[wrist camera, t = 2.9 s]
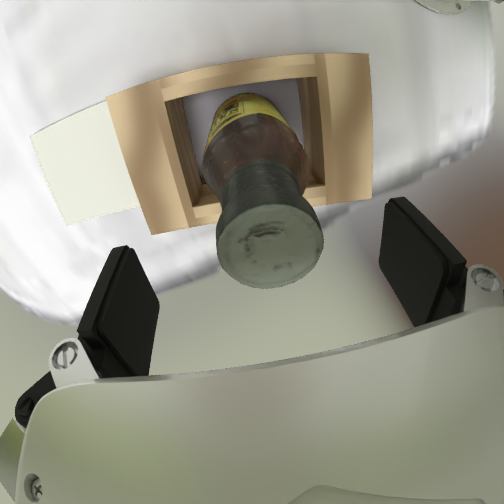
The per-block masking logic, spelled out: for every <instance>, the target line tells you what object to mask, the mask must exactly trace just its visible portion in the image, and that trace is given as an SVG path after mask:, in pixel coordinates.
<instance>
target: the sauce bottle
mask: <svg viewBox="0 0 504 504" xmlns="http://www.w3.org/2000/svg"><path fill="white" fill-rule="evenodd" d="M202 169H203V175H204V178H205V181H206V183H207V185H208V186H209V187H210V189H211V190H212V191H213V192H214V194H215V195H216V197H217V198H218V200H219V201H220V205H221V208H222V213H221V215H220V217H219V220H218V223H217V226H216V247H217V255H218V259H219V261H220V263H221V266H222V268H223V269H224V270H225V271H226V272H227V273H228V274H229V275H230V276H231V277H232V278H234V279H235V280H237V281H238V282H240V283H241V284H244V285H248V286H250V287H254V288H262V289H264V288H265V289H268V288H276V287H282V286H285V285H288V284H291V283H294V282H296V281H297V280H299V279H301V278H303V277H304V276H305V275H306V274H308V273H309V272H310V271H311V270H312V269H313V268H314V266H315V265H316V263H317V261H318V259H319V257H320V255H321V252H322V250H323V243H324V239H323V233H322V229H321V226H320V223H319V220H318V219H317V216H316V214H315V211H314V209H313V208H312V206H311V204H310V203H309V202H308V201H307V200H306V199H305V198H304V197H303V196H302V195H303V194H304V192H305V189H306V187H307V183H308V172H309V171H308V162H307V158H306V154H305V152H304V150H303V147H302V145H301V144H300V143H299V140H298V138H297V136H296V134H295V133H294V131H293V130H292V129H291V128H290V126H289V125H288V123H287V122H286V121H285V119H284V118H283V117H282V115H281V114H280V113H279V111H278V110H277V109H276V108H275V106H274V105H273V104H272V103H271V102H270V101H268V100H267V99H265V98H263V97H261V96H258V95H256V94H250V93H246V94H240V95H236V96H232V97H231V98H229V99H228V100H226V101H225V102H224V103H223V104H222V105H221V106H220V107H219V108H218V110H217V111H216V113H215V116H214V119H213V123H212V126H211V129H210V133H209V136H208V140H207V145H206V148H205V153H204V157H203V163H202Z"/></svg>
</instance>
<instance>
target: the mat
mask: <svg viewBox="0 0 504 504" xmlns="http://www.w3.org/2000/svg"><path fill="white" fill-rule="evenodd" d="M30 139H31V142H32V145H33V148H34V150H35V153H36V156H37V159H38V161H39V164H40V167H41V169H42V172H43V174H44V177H45V179H46V182H47V184H48V187H49V189H50V191H51V194H52V196H53V198H54V200H55V203H56V205H57V207H58V209H59V211H60V214H61V216H62V218H63V220H64V222H65V224H66V226H68V225H72V224H75V223H79V222H82V221H86V220H90V219H93V218H97V217H101V216H104V215H108V214H112V213H116V212H120V211H124V210H128V209H132V208H136V207H140V203H139V201H138V198H137V195H136V192H135V190H134V187H133V184H132V181H131V178H130V175H129V172H128V169H127V166H126V163H125V160H124V157H123V154H122V151H121V148H120V145H119V142H118V138H117V135H116V132H115V129H114V125H113V122H112V118H111V115H110V111H109V108H108V104H107V101H104V102H102V103H99V104H97V105H94V106H92V107H89V108H87V109H85V110H82V111H80V112H78V113H76V114H73V115H71V116H69V117H67V118H65V119H63V120H61V121H59V122H57V123H55V124H53V125H51V126H49V127H47V128H45V129H43V130H41V131H39V132H37V133H35V134H34V135H32V136H30Z"/></svg>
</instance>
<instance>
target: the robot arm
mask: <svg viewBox="0 0 504 504" xmlns="http://www.w3.org/2000/svg"><path fill="white" fill-rule="evenodd" d="M416 1H417V2H418V3H420V4H421V5H423V6H425V7H426V8H428V9H430V10H433V11H435V12H438V13H443V14H456V13H461V12H463V11H464V10H466V9H467V7H468V6H469V5H470V3H471V1H494V2H496V3H501V2H502V1H504V0H416ZM466 262H467V261H466V259H465V258H464V257H463V256H462V255H461V254H460V253H459V252H458V250H457V249H456V248H455V247H454V246H453V245H452V244H451V243H450V242H449V241H448V239H447V238H446V237H445V236H444V235H443V234H442V233H441V232H440V231H439V230H438V229H437V228H436V227H435V226H434V225H433V224H432V223H431V222H430V221H429V220H428V219H427V218H426V217H425V216H424V215H423V214H422V213H421V212H420V211H419V210H418V209H417V208H416V207H415V206H414V205H413V204H412V203H411V202H409V201H408V200H407V199H406V198H405V197H398V198H391V199H390V200H389V201H388V203H386V204H385V210H384V221H383V230H382V240H381V247H380V256H379V266H380V269H381V271H382V272H383V274H384V275H385V277H386V279H387V280H388V282H389V283H390V285H391V287H392V289H393V290H394V292H395V294H396V295H397V297H398V299H399V301H400V302H401V304H402V306H403V307H404V309H405V311H406V313H407V315H408V317H409V318H410V320H411V322H412V324H413V325H414V328H411V329H408V330H404V331H401V332H398V333H394V334H391V335H387V336H384V337H380V338H377V339H373V340H369V341H365V342H362V343H358V344H354V345H350V346H345V347H341V348H337V349H333V350H328V351H324V352H320V353H315V354H310V355H305V356H300V357H295V358H290V359H284V360H279V361H273V362H267V363H261V364H254V365H247V366H240V367H233V368H226V369H218V370H210V371H200V372H190V373H179V374H166V375H152V376H149V368H150V362H151V354H152V349H153V342H154V337H155V331H156V325H157V319H158V314H159V301H158V298H157V296H156V294H155V292H154V290H153V288H152V286H151V284H150V282H149V280H148V278H147V276H146V274H145V272H144V270H143V268H142V265H141V263H140V261H139V259H138V257H137V255H136V252H135V250H134V249H133V248H129V247H128V246H127V245H125V246H120V247H116V248H113V249H112V250H111V252H110V254H109V256H108V258H107V261H106V263H105V265H104V267H103V269H102V271H101V273H100V276H99V278H98V280H97V282H96V285H95V287H94V289H93V292H92V294H91V296H90V299H89V301H88V303H87V306H86V308H85V311H84V313H83V316H82V319H81V321H80V324H79V326H78V329H77V332H78V333H79V336H78V339H76V338H68V339H64V340H63V341H61V342H59V343H58V344H57V345H56V346H55V347H54V349H53V350H52V351H51V354H50V356H49V368H50V371H49V372H48V373H47V374H46V375H44V376H43V377H42V378H41V379H40V380H39V381H37V382H36V383H35V384H34V385H33V386H32V387H31V388H30V389H28V390H27V391H26V392H25V393H24V394H23V395H22V396H21V397H20V398H19V399H18V401H17V404H16V407H15V417H16V421H15V420H14V419H12V420H11V421H10V423H9V424H8V426H7V427H6V429H5V430H4V432H3V433H2V435H1V437H0V482H1V483H2V485H3V486H4V488H5V489H6V490H7V492H8V493H9V495H10V496H11V498H12V499H13V500H14V502H15V504H504V289H503V283H502V279H501V278H500V276H499V275H498V274H497V273H496V272H495V271H494V270H493V269H491V268H490V267H487V266H484V265H474V266H471V267H470V268H469V269H467V268H466V266H465V265H466Z"/></svg>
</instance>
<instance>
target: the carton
mask: <svg viewBox="0 0 504 504" xmlns="http://www.w3.org/2000/svg"><path fill="white" fill-rule="evenodd" d="M290 78H297V82H298V90H299V98H300V107H301V115H302V125H303V134H304V145H305V154H306V158H307V162H308V171H309V172H308V183H307V187H306V189H305V192H304V194H303V195H302V196H303V197H304V198H305V199H306V200H307V201H308V202H309V203H310V204H311V206H312V207H314V206H321V205H327V204H334V203H341V202H348V201H356V200H363V199H370V198H371V197H372V173H373V116H372V93H371V78H370V66H369V55H368V54H361V53H317V54H297V55H284V56H274V57H265V58H257V59H249V60H243V61H236V62H230V63H225V64H219V65H214V66H209V67H205V68H200V69H196V70H191V71H187V72H183V73H179V74H175V75H171V76H168V77H164V78H161V79H157V80H154V81H151V82H147V83H144V84H141V85H138V86H135V87H132V88H129V89H126V90H123V91H121V92H118V93H115V94H113V95H110V96H107V97H106V100H107V104H108V108H109V111H110V115H111V118H112V122H113V125H114V129H115V132H116V135H117V138H118V142H119V145H120V148H121V151H122V154H123V157H124V160H125V163H126V166H127V169H128V172H129V175H130V178H131V181H132V184H133V187H134V190H135V192H136V195H137V198H138V201H139V203H140V206H141V209H142V211H143V214H144V217H145V219H146V222H147V224H148V227H149V229H150V232H151V235H155V234H160V233H165V232H170V231H175V230H180V229H185V228H191V227H196V226H201V225H207V224H212V223H218V220H219V217H220V215H221V213H222V208H221V205H220V201H219V200H218V198H217V197H216V195H215V194H214V192H213V191H212V190H211V189H210V187H209V186H208V185H207V184H202V182H201V178H200V174H199V170H198V166H197V162H196V158H195V154H194V150H193V146H192V142H191V138H190V134H189V130H188V126H187V121H186V117H185V113H184V109H183V104H182V100H181V97H184V96H188V95H192V94H197V93H201V92H206V91H210V90H215V89H220V88H226V87H231V86H237V85H243V84H249V83H256V82H264V81H272V80H280V79H290Z"/></svg>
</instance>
